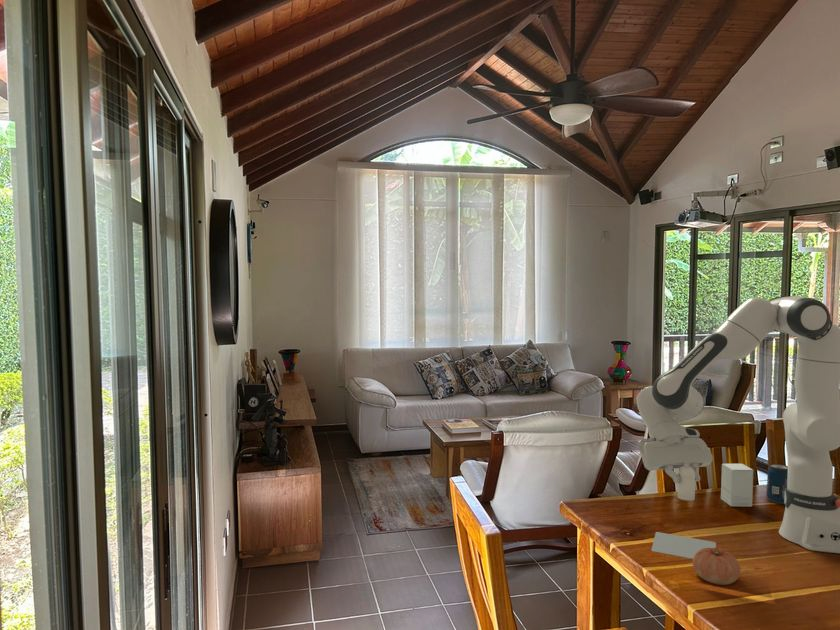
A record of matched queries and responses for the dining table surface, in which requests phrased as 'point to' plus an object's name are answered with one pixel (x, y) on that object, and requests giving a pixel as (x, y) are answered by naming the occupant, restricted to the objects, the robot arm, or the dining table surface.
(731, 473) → the supplement box
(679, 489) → the white rounded bottle
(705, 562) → the tomato
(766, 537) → the dining table surface
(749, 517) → the dining table surface
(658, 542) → the grey pad
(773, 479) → the soda can
